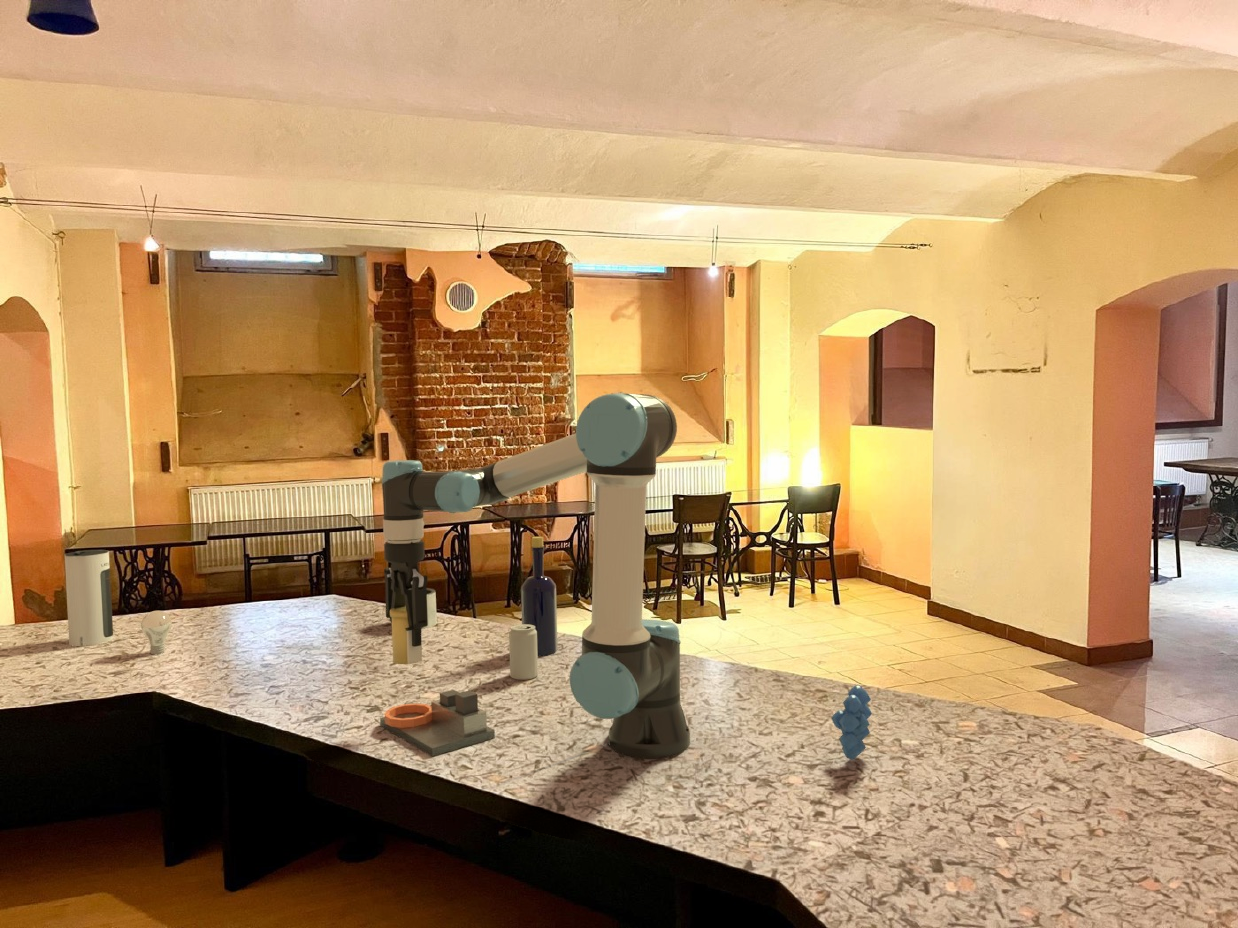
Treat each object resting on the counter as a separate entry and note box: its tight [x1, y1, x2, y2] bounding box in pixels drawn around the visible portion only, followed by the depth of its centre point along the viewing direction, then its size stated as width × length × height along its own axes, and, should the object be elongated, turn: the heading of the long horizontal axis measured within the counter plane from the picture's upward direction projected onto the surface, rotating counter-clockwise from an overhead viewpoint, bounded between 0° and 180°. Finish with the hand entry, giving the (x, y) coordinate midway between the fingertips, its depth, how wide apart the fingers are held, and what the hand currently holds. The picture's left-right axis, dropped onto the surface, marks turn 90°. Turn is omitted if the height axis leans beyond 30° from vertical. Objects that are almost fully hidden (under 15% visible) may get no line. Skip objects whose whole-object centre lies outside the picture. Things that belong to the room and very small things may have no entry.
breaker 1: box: [439, 689, 460, 707], centre depth 165 cm, size 3×3×4 cm
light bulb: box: [140, 610, 173, 655], centre depth 220 cm, size 7×7×12 cm
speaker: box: [64, 549, 114, 647], centre depth 231 cm, size 11×10×26 cm
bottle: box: [520, 536, 558, 657], centre depth 215 cm, size 9×9×30 cm
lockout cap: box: [390, 606, 418, 665], centre depth 166 cm, size 6×6×10 cm
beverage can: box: [508, 623, 539, 681], centre depth 197 cm, size 6×6×12 cm
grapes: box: [831, 684, 873, 761], centre depth 149 cm, size 12×7×12 cm, turn 149°
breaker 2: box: [455, 690, 479, 715], centre depth 160 cm, size 3×3×4 cm
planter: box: [409, 587, 438, 630], centre depth 243 cm, size 13×13×11 cm
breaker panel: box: [379, 699, 496, 757], centre depth 164 cm, size 21×13×5 cm, turn 41°
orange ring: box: [384, 703, 432, 728], centre depth 166 cm, size 9×9×2 cm
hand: (407, 658), depth 166 cm, fingers closed on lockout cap, 5 cm apart
